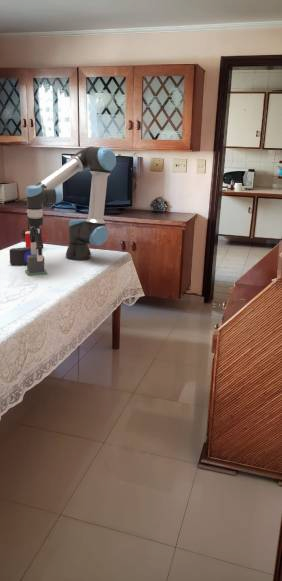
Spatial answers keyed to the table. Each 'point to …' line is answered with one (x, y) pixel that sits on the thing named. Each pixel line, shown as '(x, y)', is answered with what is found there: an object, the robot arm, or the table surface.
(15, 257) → the computer mouse
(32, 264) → the gray orange-striped box
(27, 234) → the mug
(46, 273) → the header
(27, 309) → the table surface
